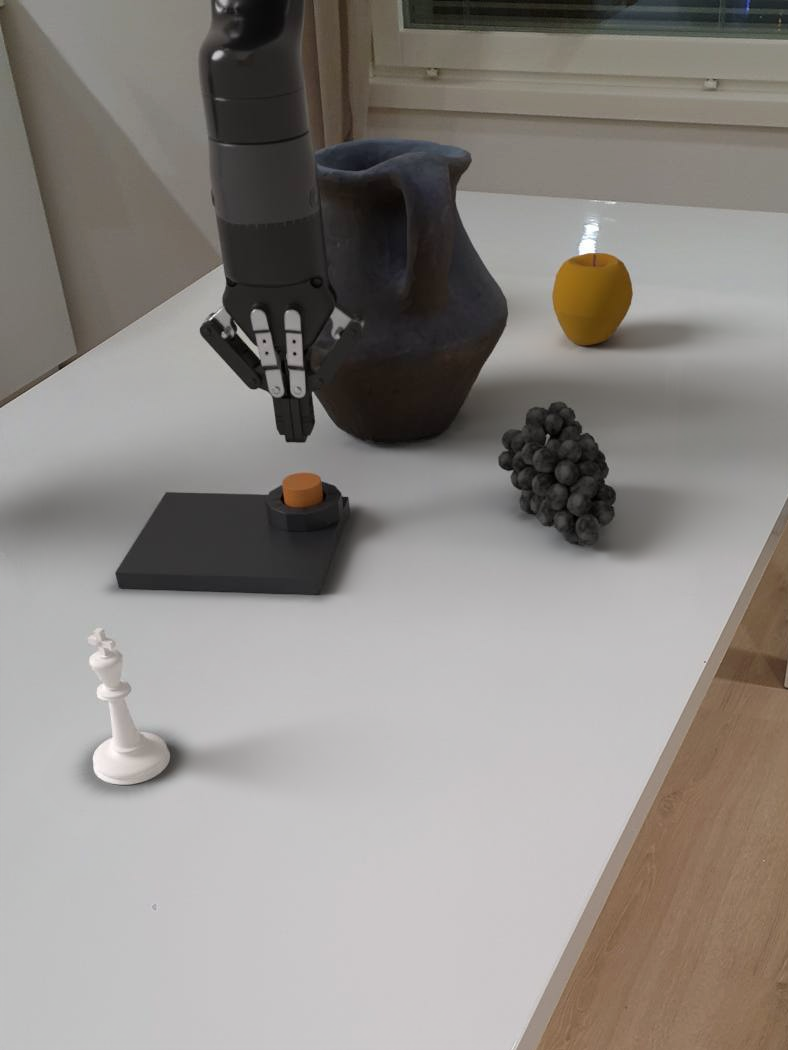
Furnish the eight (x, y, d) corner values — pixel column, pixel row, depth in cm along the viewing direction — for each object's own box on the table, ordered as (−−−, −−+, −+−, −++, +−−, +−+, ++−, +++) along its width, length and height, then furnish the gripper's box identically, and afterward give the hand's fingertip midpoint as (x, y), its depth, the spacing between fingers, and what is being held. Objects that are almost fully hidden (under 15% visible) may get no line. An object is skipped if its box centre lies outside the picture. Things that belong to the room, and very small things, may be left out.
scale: (118, 588, 101) (110, 553, 99) (168, 506, 112) (162, 474, 110) (318, 594, 100) (314, 560, 98) (350, 511, 110) (347, 478, 108)
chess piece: (140, 792, 82) (106, 659, 75) (78, 774, 83) (39, 641, 77) (185, 749, 85) (156, 618, 78) (124, 732, 87) (91, 602, 80)
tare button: (280, 509, 105) (278, 489, 104) (289, 491, 107) (286, 471, 106) (319, 510, 105) (316, 490, 104) (326, 492, 107) (324, 472, 106)
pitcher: (454, 368, 134) (444, 96, 117) (551, 446, 119) (556, 147, 103) (266, 406, 128) (228, 123, 111) (344, 493, 113) (313, 182, 96)
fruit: (622, 452, 96) (568, 374, 107) (520, 497, 97) (477, 415, 108) (649, 545, 102) (595, 462, 113) (553, 587, 103) (509, 501, 114)
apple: (617, 359, 135) (622, 271, 129) (540, 351, 137) (541, 264, 131) (638, 332, 141) (643, 246, 135) (564, 324, 143) (566, 239, 137)
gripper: (368, 189, 93) (386, 420, 105) (191, 189, 95) (228, 418, 106) (350, 219, 88) (371, 460, 99) (162, 219, 89) (204, 457, 100)
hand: (297, 438), depth 103 cm, fingers closed
